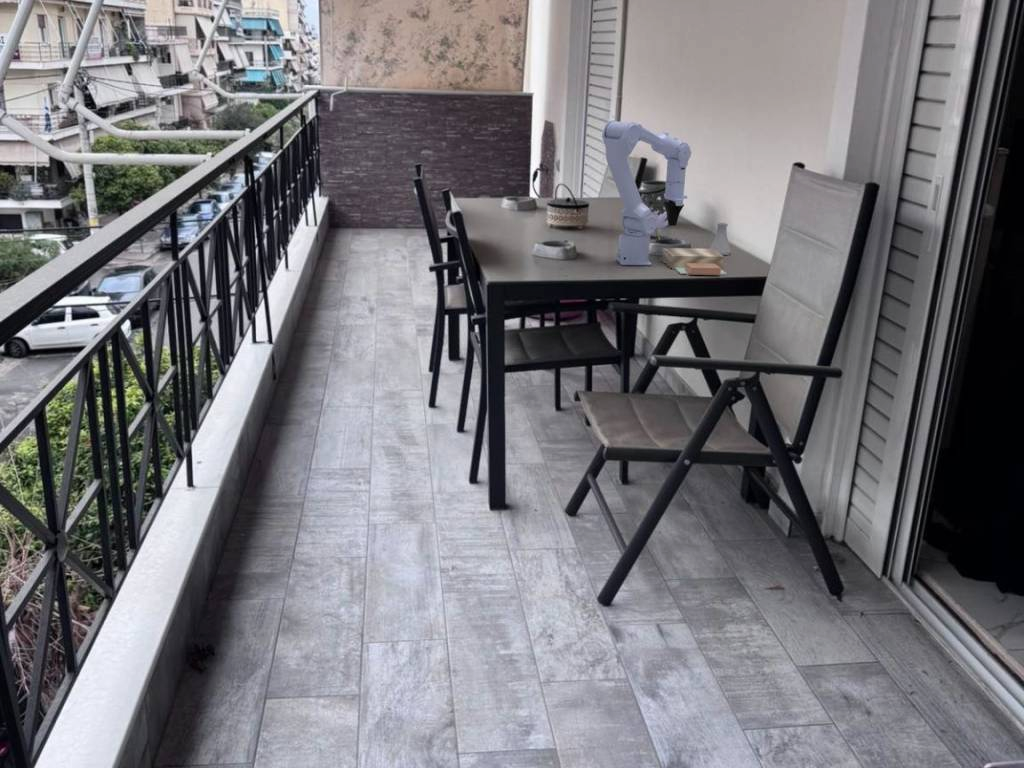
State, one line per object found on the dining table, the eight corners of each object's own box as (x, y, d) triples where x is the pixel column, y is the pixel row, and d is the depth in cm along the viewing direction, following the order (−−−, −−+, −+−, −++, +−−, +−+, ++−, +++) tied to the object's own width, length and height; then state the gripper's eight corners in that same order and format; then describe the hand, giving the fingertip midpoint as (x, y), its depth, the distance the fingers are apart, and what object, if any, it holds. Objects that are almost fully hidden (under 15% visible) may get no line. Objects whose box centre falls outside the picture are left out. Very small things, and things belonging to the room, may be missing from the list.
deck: (670, 269, 277) (672, 255, 275) (661, 260, 288) (662, 247, 287) (722, 269, 278) (724, 256, 277) (711, 261, 289) (713, 248, 288)
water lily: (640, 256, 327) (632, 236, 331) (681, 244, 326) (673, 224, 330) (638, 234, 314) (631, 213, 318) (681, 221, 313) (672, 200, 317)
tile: (685, 263, 273) (684, 269, 274) (690, 267, 268) (690, 274, 268) (715, 263, 274) (714, 270, 275) (721, 268, 268) (720, 274, 269)
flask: (720, 257, 296) (723, 226, 293) (703, 253, 302) (706, 222, 298) (735, 254, 300) (738, 224, 297) (718, 250, 306) (721, 220, 303)
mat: (680, 274, 270) (680, 273, 270) (674, 269, 277) (674, 267, 277) (726, 275, 271) (727, 273, 271) (719, 269, 278) (719, 268, 278)
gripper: (694, 184, 278) (690, 229, 282) (682, 178, 291) (678, 221, 296) (671, 184, 277) (667, 229, 282) (660, 178, 291) (657, 221, 295)
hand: (672, 225), depth 289 cm, fingers closed
